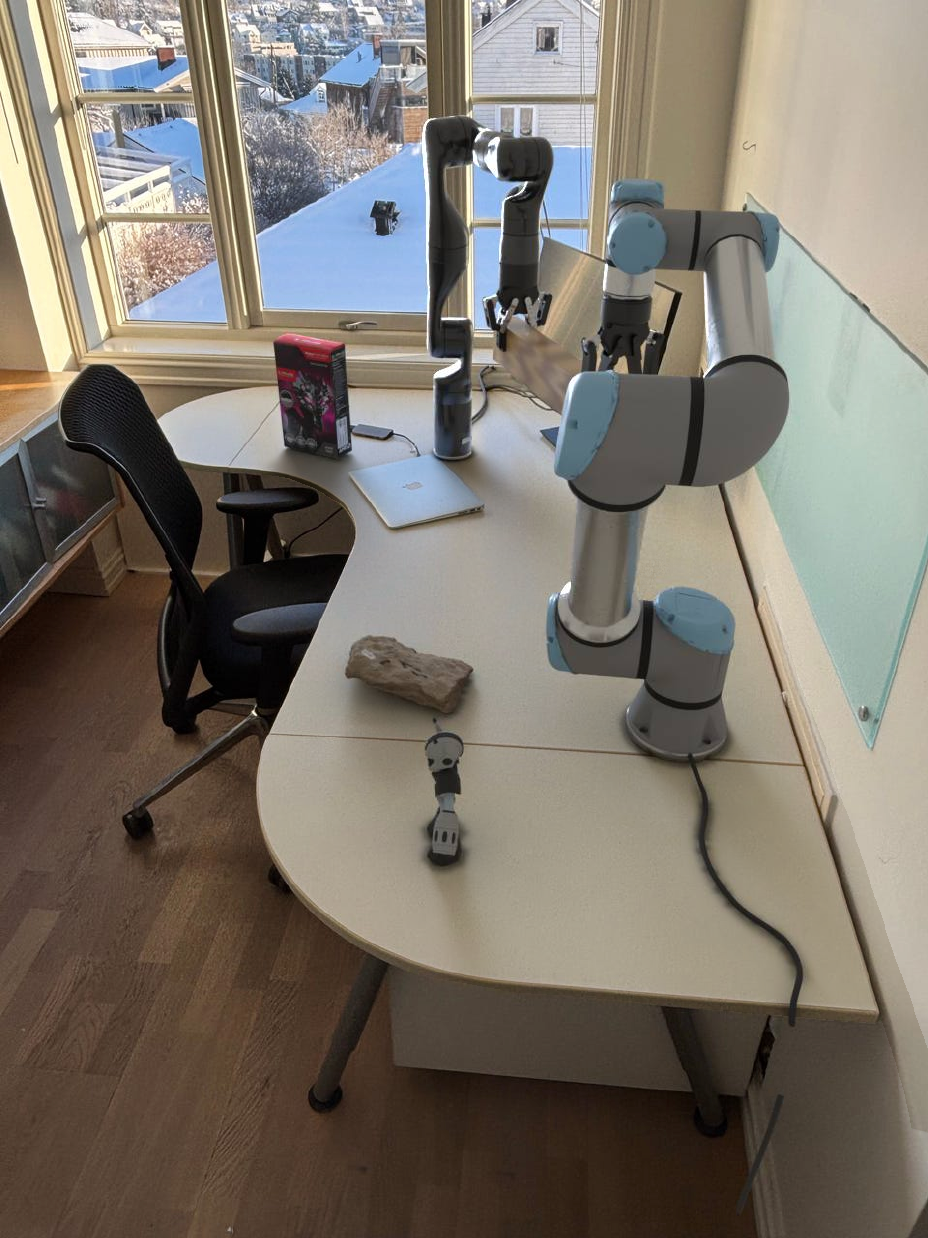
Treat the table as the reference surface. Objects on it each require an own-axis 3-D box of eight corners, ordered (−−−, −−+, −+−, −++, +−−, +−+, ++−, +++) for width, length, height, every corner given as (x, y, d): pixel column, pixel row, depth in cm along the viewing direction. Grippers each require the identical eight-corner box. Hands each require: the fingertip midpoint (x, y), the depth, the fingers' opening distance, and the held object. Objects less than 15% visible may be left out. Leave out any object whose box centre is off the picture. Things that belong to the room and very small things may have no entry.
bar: (641, 454, 148) (648, 406, 143) (614, 459, 146) (619, 410, 141) (515, 356, 187) (517, 315, 182) (492, 359, 185) (493, 318, 181)
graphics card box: (282, 447, 232) (270, 339, 217) (298, 438, 237) (288, 331, 222) (338, 461, 225) (330, 350, 210) (354, 451, 230) (347, 342, 215)
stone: (320, 686, 146) (326, 652, 144) (355, 651, 160) (362, 621, 157) (443, 730, 143) (452, 697, 140) (469, 692, 156) (477, 661, 154)
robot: (466, 900, 116) (468, 784, 104) (427, 902, 115) (425, 785, 104) (459, 789, 132) (460, 678, 121) (425, 790, 132) (423, 679, 120)
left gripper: (545, 250, 176) (540, 339, 185) (475, 256, 171) (474, 347, 181) (563, 259, 170) (556, 351, 179) (491, 265, 166) (488, 358, 175)
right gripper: (666, 282, 143) (649, 425, 156) (562, 292, 138) (552, 439, 151) (693, 294, 137) (672, 441, 150) (584, 305, 132) (573, 456, 145)
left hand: (515, 348), depth 180 cm, fingers closed on bar, 5 cm apart
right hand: (612, 439), depth 151 cm, fingers closed on bar, 5 cm apart
